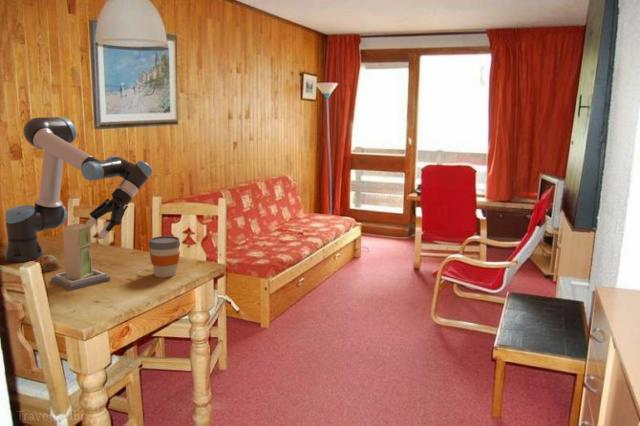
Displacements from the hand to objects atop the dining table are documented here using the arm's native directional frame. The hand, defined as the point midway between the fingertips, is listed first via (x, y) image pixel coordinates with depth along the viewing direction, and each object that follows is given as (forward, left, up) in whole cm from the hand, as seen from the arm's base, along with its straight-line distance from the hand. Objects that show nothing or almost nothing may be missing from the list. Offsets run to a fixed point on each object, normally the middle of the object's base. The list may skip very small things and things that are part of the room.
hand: (92, 234), depth 204 cm
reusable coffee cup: (+16, +23, -19) cm, 33 cm away
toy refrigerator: (-1, -5, -17) cm, 18 cm away
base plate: (-1, -5, -18) cm, 19 cm away
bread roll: (-26, -8, -19) cm, 33 cm away
